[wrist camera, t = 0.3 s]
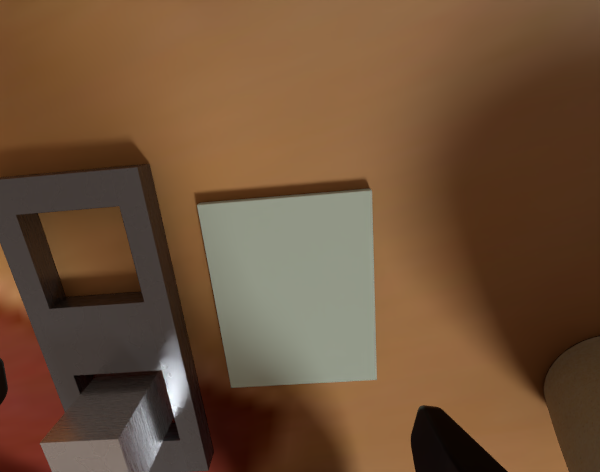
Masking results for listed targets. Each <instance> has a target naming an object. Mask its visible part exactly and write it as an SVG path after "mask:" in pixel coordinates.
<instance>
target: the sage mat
mask: <svg viewBox="0 0 600 472" xmlns="http://www.w3.org/2000/svg"><path fill="white" fill-rule="evenodd" d="M197 208H198V213H199V218H200V224H201V229H202V234H203V240H204V245H205V250H206V256H207V261H208V266H209V272H210V277H211V282H212V288H213V293H214V298H215V304H216V309H217V314H218V320H219V325H220V330H221V336H222V341H223V346H224V352H225V357H226V362H227V368H228V373H229V378H230V384H231V388H237V387H255V386H273V385H291V384H309V383H327V382H345V381H362V380H377V372H376V333H375V294H374V254H373V215H372V190H371V189H358V190H346V191H334V192H322V193H311V194H299V195H287V196H275V197H263V198H251V199H239V200H227V201H215V202H204V203H199V204H198V205H197Z"/></svg>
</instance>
